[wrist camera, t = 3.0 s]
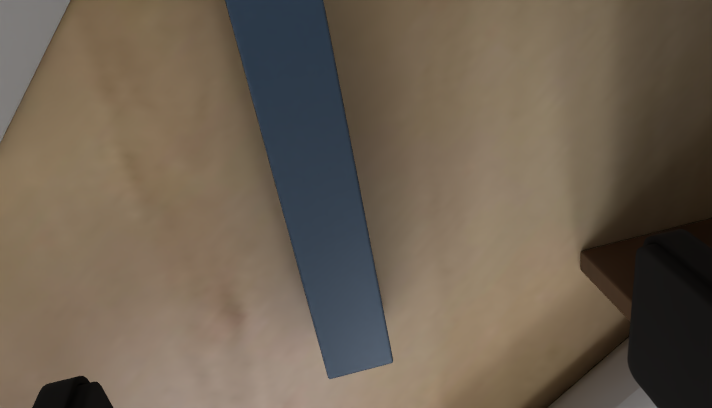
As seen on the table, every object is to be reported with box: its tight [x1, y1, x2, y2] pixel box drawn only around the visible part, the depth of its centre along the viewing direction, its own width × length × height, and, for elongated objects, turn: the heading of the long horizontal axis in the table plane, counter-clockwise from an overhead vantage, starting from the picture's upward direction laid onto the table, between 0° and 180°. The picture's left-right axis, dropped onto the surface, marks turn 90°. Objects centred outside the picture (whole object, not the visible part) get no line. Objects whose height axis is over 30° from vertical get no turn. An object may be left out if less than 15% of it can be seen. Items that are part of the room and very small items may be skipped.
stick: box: [225, 0, 393, 379], centre depth 21 cm, size 3×22×3 cm, turn 10°
